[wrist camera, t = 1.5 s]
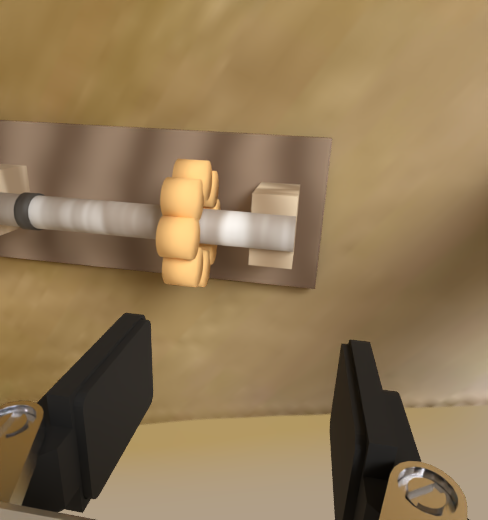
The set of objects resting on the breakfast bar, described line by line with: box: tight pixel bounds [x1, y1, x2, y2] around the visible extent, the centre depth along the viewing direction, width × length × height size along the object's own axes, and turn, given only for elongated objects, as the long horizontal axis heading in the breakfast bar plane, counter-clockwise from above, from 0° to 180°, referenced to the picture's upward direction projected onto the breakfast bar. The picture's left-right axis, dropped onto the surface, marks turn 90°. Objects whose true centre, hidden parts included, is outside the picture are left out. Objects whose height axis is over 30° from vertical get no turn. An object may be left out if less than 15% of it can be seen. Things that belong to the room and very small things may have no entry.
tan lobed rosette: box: [156, 159, 221, 287], centre depth 27 cm, size 2×9×9 cm, turn 177°
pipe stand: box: [0, 120, 332, 289], centre depth 31 cm, size 30×12×8 cm, turn 87°
